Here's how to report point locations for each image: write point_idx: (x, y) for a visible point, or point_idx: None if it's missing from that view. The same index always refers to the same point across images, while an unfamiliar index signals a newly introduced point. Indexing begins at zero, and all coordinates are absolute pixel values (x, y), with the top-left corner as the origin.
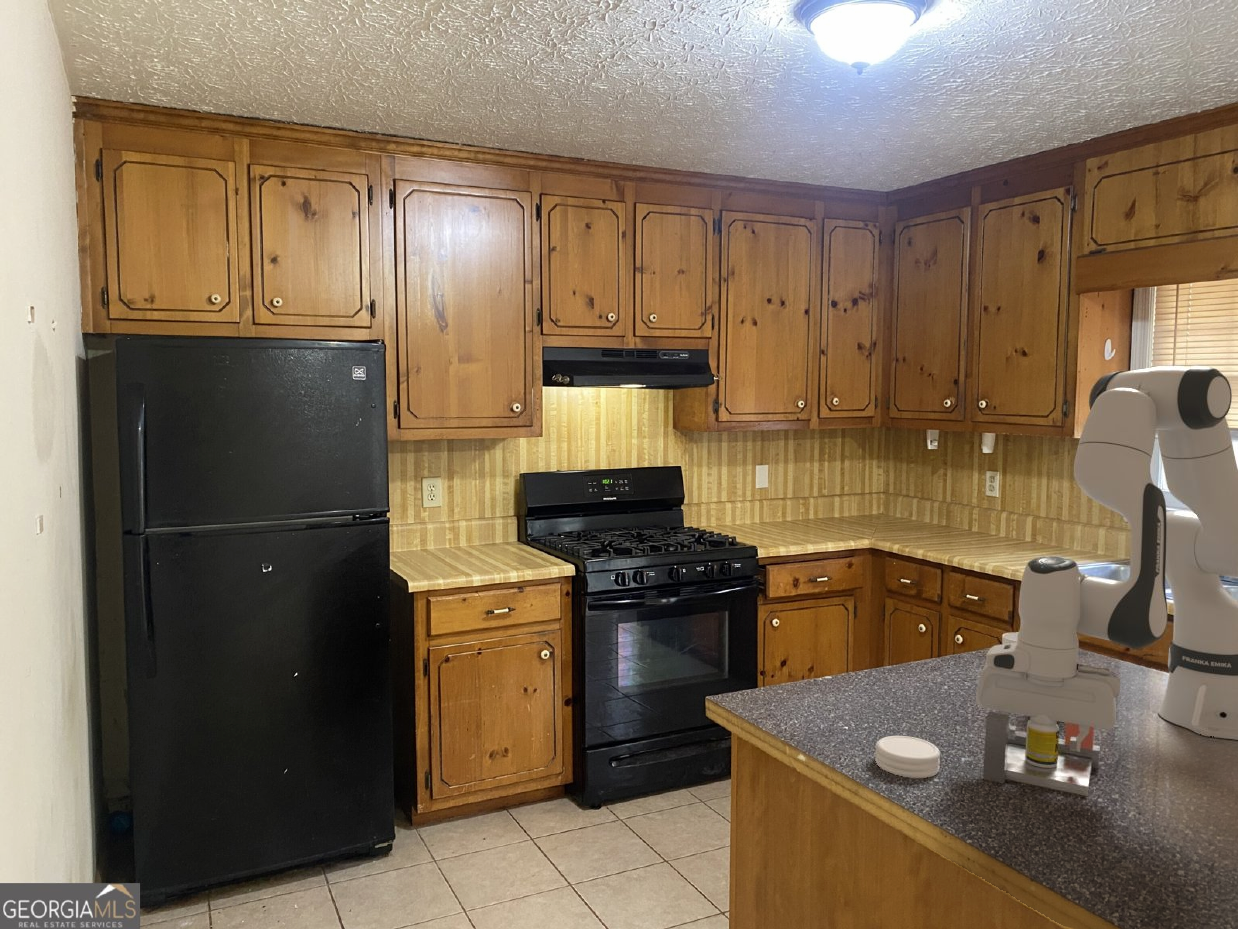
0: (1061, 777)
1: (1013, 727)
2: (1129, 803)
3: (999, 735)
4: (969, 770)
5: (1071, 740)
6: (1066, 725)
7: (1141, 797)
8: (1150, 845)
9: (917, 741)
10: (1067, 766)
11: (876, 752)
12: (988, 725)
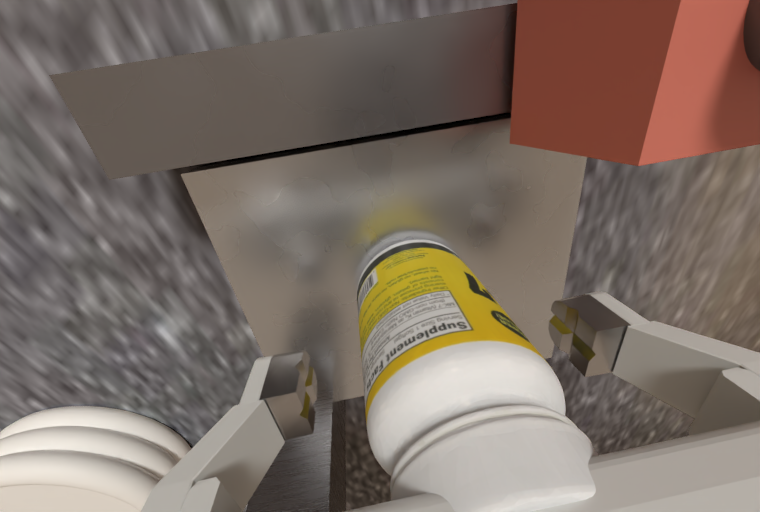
0: None
1: (289, 411)
2: (628, 307)
3: None
4: (236, 388)
5: (591, 375)
6: (605, 159)
7: (672, 251)
8: (618, 434)
9: (29, 492)
10: (498, 258)
11: None
12: None
